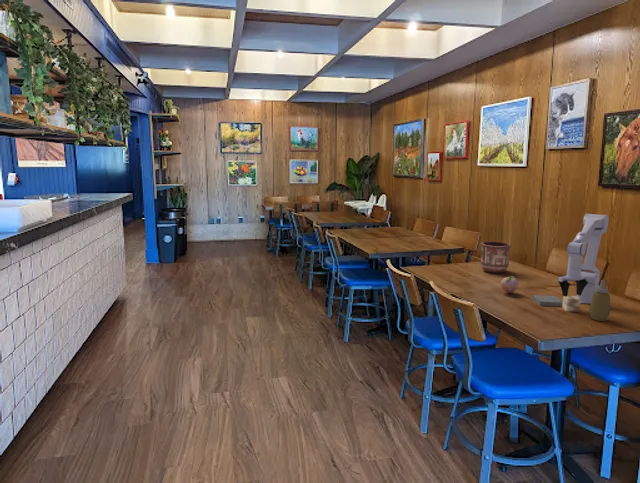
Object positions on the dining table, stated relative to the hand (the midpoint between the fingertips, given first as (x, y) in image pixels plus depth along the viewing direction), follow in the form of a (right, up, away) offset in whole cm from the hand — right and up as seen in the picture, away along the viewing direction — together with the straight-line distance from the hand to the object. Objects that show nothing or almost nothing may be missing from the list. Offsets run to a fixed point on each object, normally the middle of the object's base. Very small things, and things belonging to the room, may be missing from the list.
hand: (571, 295), depth 218 cm
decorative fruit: (-19, -2, +28) cm, 33 cm away
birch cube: (0, -7, +1) cm, 7 cm away
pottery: (-8, +6, +76) cm, 77 cm away
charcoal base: (-6, -5, +12) cm, 14 cm away
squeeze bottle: (+5, -9, -12) cm, 16 cm away
